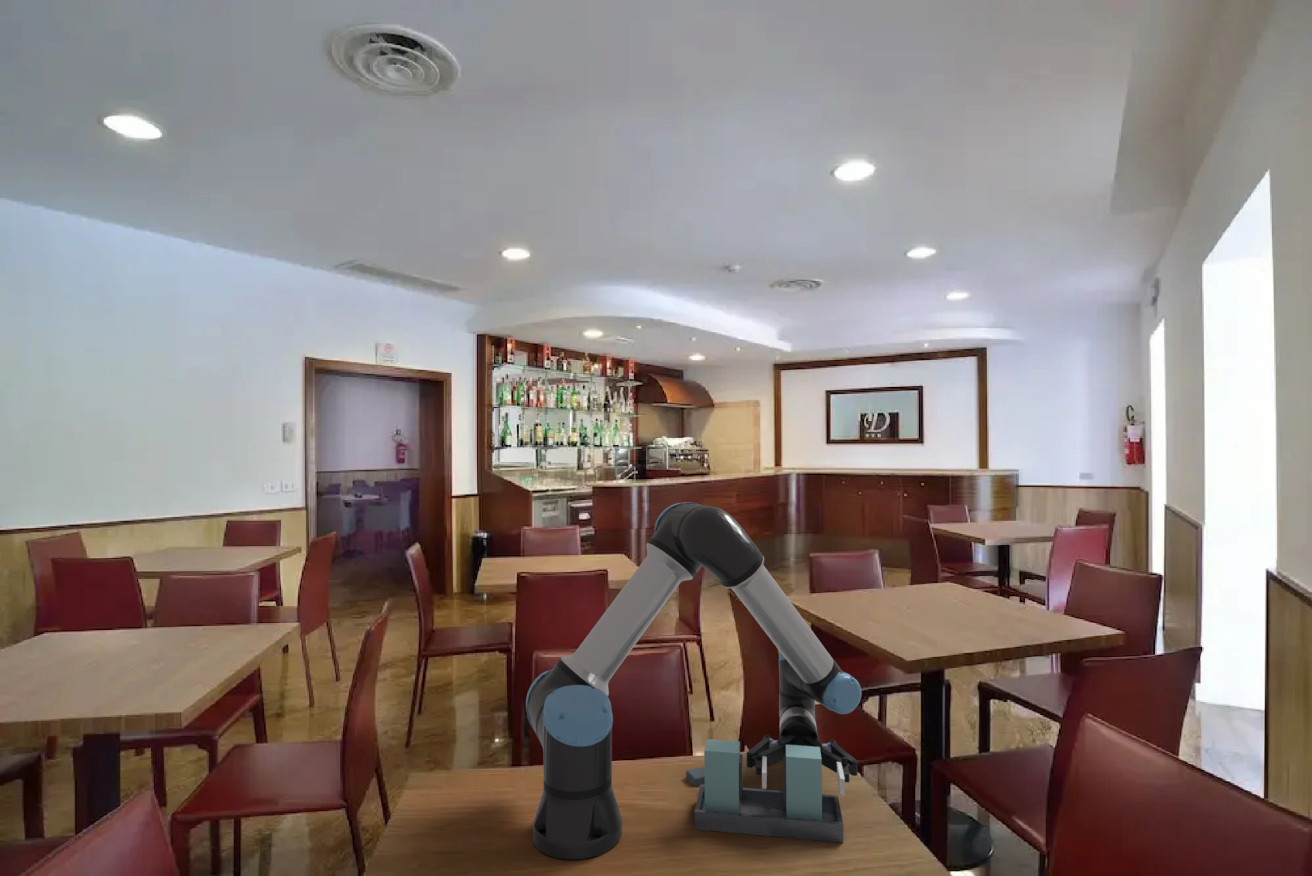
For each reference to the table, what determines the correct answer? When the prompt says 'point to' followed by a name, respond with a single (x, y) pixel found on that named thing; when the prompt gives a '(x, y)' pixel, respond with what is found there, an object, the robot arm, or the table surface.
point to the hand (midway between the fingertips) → (803, 783)
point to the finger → (802, 782)
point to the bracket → (696, 776)
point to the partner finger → (723, 775)
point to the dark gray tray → (771, 817)
